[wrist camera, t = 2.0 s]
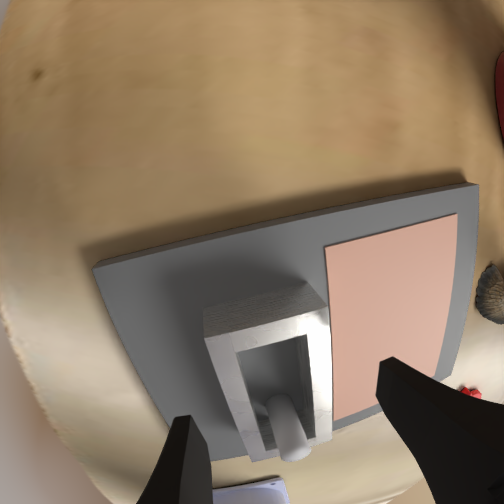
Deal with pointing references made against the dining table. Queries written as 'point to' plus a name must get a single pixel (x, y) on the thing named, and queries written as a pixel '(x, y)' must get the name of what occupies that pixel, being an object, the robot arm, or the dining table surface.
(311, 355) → the c link
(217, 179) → the dining table surface
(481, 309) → the eagle figurine
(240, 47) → the dining table surface
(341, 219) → the post board
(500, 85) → the canister
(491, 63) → the dining table surface
